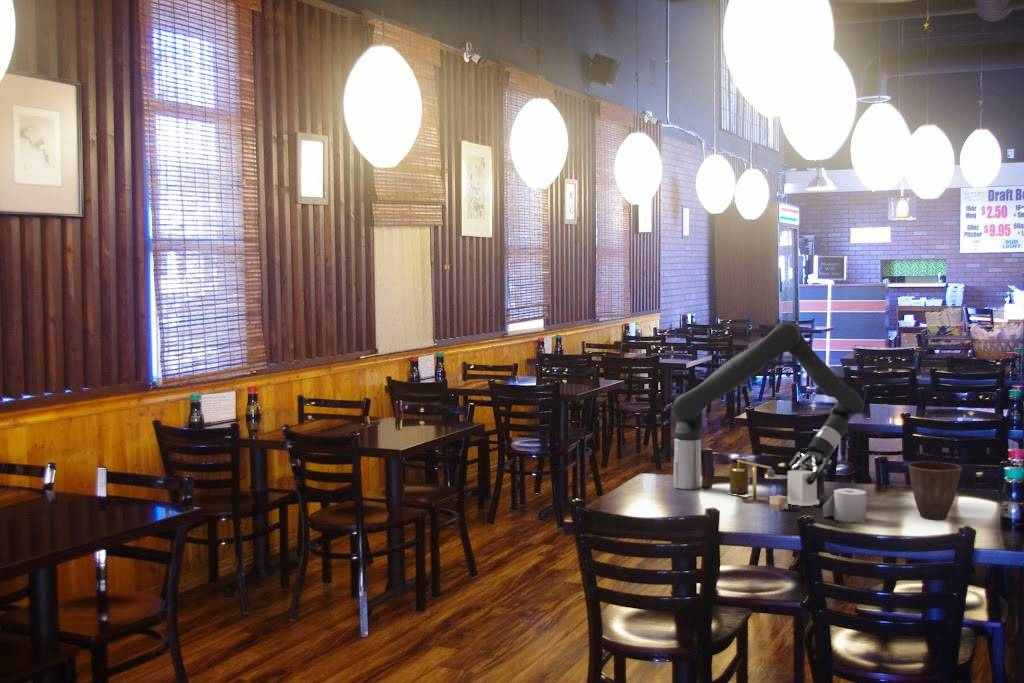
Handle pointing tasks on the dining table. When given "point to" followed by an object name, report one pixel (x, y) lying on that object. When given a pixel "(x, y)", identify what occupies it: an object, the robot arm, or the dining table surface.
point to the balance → (769, 475)
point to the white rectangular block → (801, 486)
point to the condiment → (738, 478)
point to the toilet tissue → (847, 505)
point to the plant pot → (934, 487)
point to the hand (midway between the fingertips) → (798, 481)
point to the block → (778, 502)
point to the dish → (806, 503)
